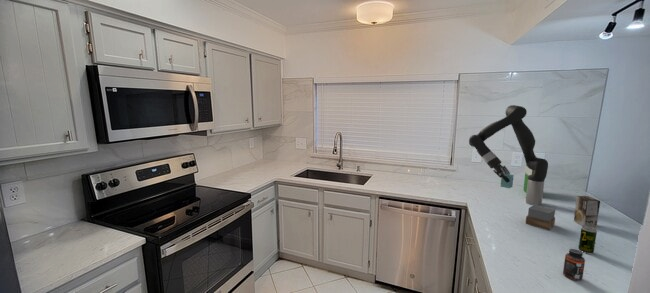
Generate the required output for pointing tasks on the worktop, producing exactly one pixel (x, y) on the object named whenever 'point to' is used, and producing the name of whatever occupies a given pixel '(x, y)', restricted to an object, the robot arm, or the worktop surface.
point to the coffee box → (586, 211)
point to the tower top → (541, 213)
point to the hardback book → (527, 173)
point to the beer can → (587, 239)
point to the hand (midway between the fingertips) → (510, 181)
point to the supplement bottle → (574, 265)
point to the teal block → (510, 183)
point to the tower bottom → (540, 223)
